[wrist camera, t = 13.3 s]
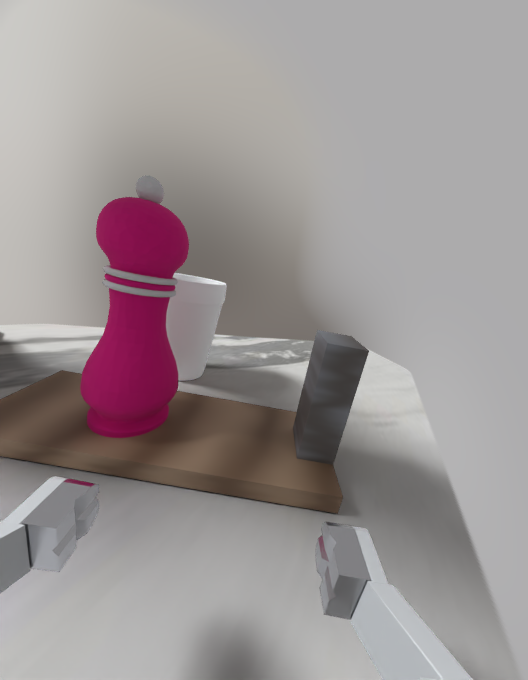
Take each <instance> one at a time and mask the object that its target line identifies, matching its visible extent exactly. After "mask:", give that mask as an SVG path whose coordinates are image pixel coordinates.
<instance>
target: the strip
mask: <svg viewBox="0 0 528 680" xmlns="http://www.w3.org/2000/svg"><path fill="white" fill-rule="evenodd" d="M368 352H369V351H368V350H367V349H366V348H365V347H363V346H362V345H361V344H360V343H359V342H358V341H356V340H355V339H354V338H353V337H351V336H347V335H341V334H335V333H330V332H325V331H320V330H317V334H316V337H315V341H314V345H313V349H312V353H311V357H310V361H309V365H308V369H307V373H306V377H305V381H304V385H303V389H302V393H301V397H300V401H299V405H298V409H297V412H293V411H287V410H281V409H276V408H270V407H265V406H259V405H253V404H248V403H242V402H237V401H231V400H225V399H220V398H214V397H208V396H203V395H197V394H192V393H186V392H180V391H177V392H176V394H175V396H174V397H173V398H172V399H171V401H170V402H169V403H168V406H169V414H168V417H167V419H166V421H165V422H164V423H163V424H162V425H160V426H159V427H158V428H156V429H154V430H152V431H150V432H148V433H145V434H142V435H139V436H134V437H127V438H111V437H105V436H101V435H99V434H96V433H94V432H93V431H92V430H91V429H90V428H89V427H88V425H87V413H88V410H89V409H90V406H89V405H88V404H87V403H86V402H85V401H84V399H83V397H82V395H81V391H80V385H81V378H82V374H80V373H74V372H68V371H63V370H62V371H59V372H57V373H55V374H53V375H51V376H49V377H47V378H45V379H43V380H40V381H38V382H36V383H34V384H32V385H30V386H28V387H26V388H24V389H21V390H19V391H17V392H15V393H13V394H11V395H9V396H7V397H5V398H2V399H0V456H3V457H9V458H15V459H21V460H27V461H32V462H38V463H44V464H50V465H56V466H62V467H68V468H73V469H79V470H85V471H91V472H97V473H103V474H109V475H115V476H120V477H126V478H132V479H138V480H144V481H150V482H156V483H161V484H167V485H173V486H179V487H185V488H191V489H197V490H202V491H208V492H214V493H220V494H226V495H232V496H238V497H244V498H249V499H255V500H261V501H267V502H273V503H279V504H285V505H290V506H296V507H302V508H308V509H314V510H320V511H326V512H332V513H338V510H339V508H340V505H341V502H342V499H343V496H342V493H341V489H340V486H339V483H338V480H337V477H336V474H335V470H334V467H333V462H334V459H335V456H336V453H337V450H338V447H339V444H340V440H341V437H342V434H343V431H344V428H345V425H346V422H347V418H348V415H349V412H350V409H351V406H352V403H353V400H354V396H355V393H356V390H357V387H358V384H359V381H360V378H361V374H362V371H363V368H364V365H365V362H366V359H367V356H368Z"/></svg>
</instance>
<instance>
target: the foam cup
mask: <svg viewBox="0 0 528 680" xmlns="http://www.w3.org/2000/svg"><path fill="white" fill-rule="evenodd" d="M173 278H176V279H177V281H178V283H177V284H176V285H175V291H176V295H175V296H173V297H170V300H169V304H168V308H167V316H166V330H167V337H168V340H169V343H170V346H171V349H172V352H173V355H174V357H175V360H176V364H177V369H178V381H186V380H194V379H196V378H199V377H201V375H202V374H203V373H204V369H205V366H206V363H207V359H208V355H209V352H210V348H211V344H212V340H213V337H214V333H215V329H216V326H217V322H218V318H219V314H220V311H221V307H222V303H223V302H224V301H225V294H226V286H227V284H225V283H223V282H220V281H216V280H211V279H207V278H202V277H197V276H191V275H185V274H178V273H174V275H173Z"/></svg>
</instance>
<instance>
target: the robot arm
mask: <svg viewBox="0 0 528 680" xmlns="http://www.w3.org/2000/svg"><path fill="white" fill-rule="evenodd" d="M98 493H99V485H98V484H93V483H88V482H83V481H78V480H73V479H68V478H63V477H57V476H53V477H51V478H49V479H48V480H47V481H46V482H44V483H43V484H42V485H41V486H40V487H39V488H38V489H37V490H36V491H35V492H34V493H33V494H31V495H30V496H29V497H28V498H27V499H26V500H25V501H24V502H23V503H22V504H21V505H19V506H18V507H17V508H16V509H15V510H14V511H13V512H12V513H11V514H10V515H9V516H8V517H6V518H5V519H4V520H3V521H0V593H1V592H3V591H4V590H5V589H7V588H8V587H9V586H11V585H12V584H13V583H15V582H16V581H17V580H19V579H20V578H21V577H23V576H24V575H25V574H27V573H28V572H29V571H30V569H37V570H45V571H54V572H60V570H61V569H62V568H63V566H64V565H65V563H66V562H67V561H68V559H69V558H70V556H71V555H72V554H73V552H74V551H75V549H76V543H77V540H78V539H79V538H81V537H82V536H84V535H85V534H87V532H88V531H89V529H90V528H91V526H92V525H93V523H94V521H95V519H96V517H97V515H98V511H99V501H98V499H97V498H96V495H97V494H98ZM321 531H322V536H321V537H319V538H318V541H317V544H316V554H315V555H316V566H317V572H318V573H319V575H320V576H321V578H322V583H321V585H320V593H321V599H322V606H323V612H324V615H328V616H334V617H339V618H344V619H349V620H351V621H350V622H351V624H352V626H353V628H354V629H355V631H356V633H357V635H358V637H359V638H360V640H361V642H362V644H363V646H364V647H365V649H366V651H367V653H368V655H369V656H370V658H371V660H372V662H373V664H374V665H375V667H376V669H377V671H378V673H379V674H380V676H381V678H382V680H473V679H472V678H471V677H470V675H469V674H468V673H467V672H466V671H465V670H464V668H463V667H462V666H461V665H460V664H459V662H458V661H457V660H456V659H455V658H454V656H453V655H452V654H451V653H450V652H449V650H448V649H447V648H446V647H445V646H444V645H443V643H442V642H441V641H440V640H439V639H438V637H437V636H436V635H435V634H434V633H433V631H432V630H431V629H430V628H429V627H428V626H427V624H426V623H425V622H424V621H423V620H422V618H421V617H420V616H419V615H418V614H417V612H416V611H415V610H414V609H413V608H412V607H411V605H410V604H409V603H408V602H407V601H406V599H405V598H404V597H403V596H402V595H401V593H400V592H399V591H398V590H397V589H396V588H395V586H394V585H391V584H389V583H388V580H387V578H386V575H385V573H384V570H383V567H382V565H381V562H380V559H379V557H378V554H377V552H376V549H375V546H374V544H373V541H372V538H371V536H370V533H369V531H368V530H367V529H366V528H360V527H354V526H350V525H344V524H337V523H330V522H324V523H323V525H322V528H321Z"/></svg>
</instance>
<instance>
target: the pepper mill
mask: <svg viewBox="0 0 528 680" xmlns="http://www.w3.org/2000/svg"><path fill="white" fill-rule="evenodd" d="M136 192H137V194H138V196H139V198H132V197H126V198H119V199H115V200H113V201H111V202H110V203H108V204H107V205H106V206H105V207H104V208H103V209H102V211H101V213H100V214H99V217H98V221H97V228H96V237H97V241H98V244H99V246H100V247H101V249H102V250H103V251H104V253H105V254H106V255H107V257H108V259H109V261H110V266H105V267H104V268H103V270H104V272H105V273H106V274H105V278H106V279H104V280H103V284H104V285H105V286H106V287H108V288H109V294H110V309H109V315H108V322H107V325H106V328H105V331H104V334H103V336H102V337H101V339H100V341H99V343H98V344H97V346H96V347H95V349H94V351H93V352H92V354H91V356H90V357H89V359H88V360H87V362H86V365H85V367H84V370H83V373H82V378H81V385H80V391H81V395H82V397H83V399H84V401H85V402H86V403H87V404H88V405H89V406H90V409H89V410H88V413H87V425H88V427H89V428H90V429H91V430H92V431H93V432H94V433H96V434H99V435H101V436H105V437H111V438H127V437H134V436H139V435H142V434H145V433H148V432H150V431H152V430H154V429H156V428H158V427H159V426H160V425H162V424H163V423H164V422H165V421H166V419H167V417H168V414H169V406H168V403H169V402H170V401H171V399H172V398H173V397H174V396H175V394H176V392H177V389H178V369H177V364H176V360H175V357H174V355H173V352H172V349H171V346H170V343H169V340H168V337H167V330H166V316H167V308H168V304H169V300H170V297H173V296H175V295H176V291H175V285H176V284H177V283H178V281H177V279H176V278H173V275H174V273H175V271H176V270H177V269H178V268H179V267H180V266H182V265H183V263H184V262H185V260H186V259H187V255H188V248H189V242H188V236H187V232H186V230H185V228H184V225H183V224H182V223H181V221H180V220H179V219H178V217H177V216H176V215H174V214H173V213H172V212H171V211H170V210H168V209H167V208H165V207H163V206H162V205H160V204H159V203H161V202H162V199H163V197H164V191H163V188H162V185H161V184H160V182H159V181H158V180H157V179H155V178H154V177H151V176H142V177H141V178H139V179H138V181H137V183H136Z"/></svg>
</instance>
